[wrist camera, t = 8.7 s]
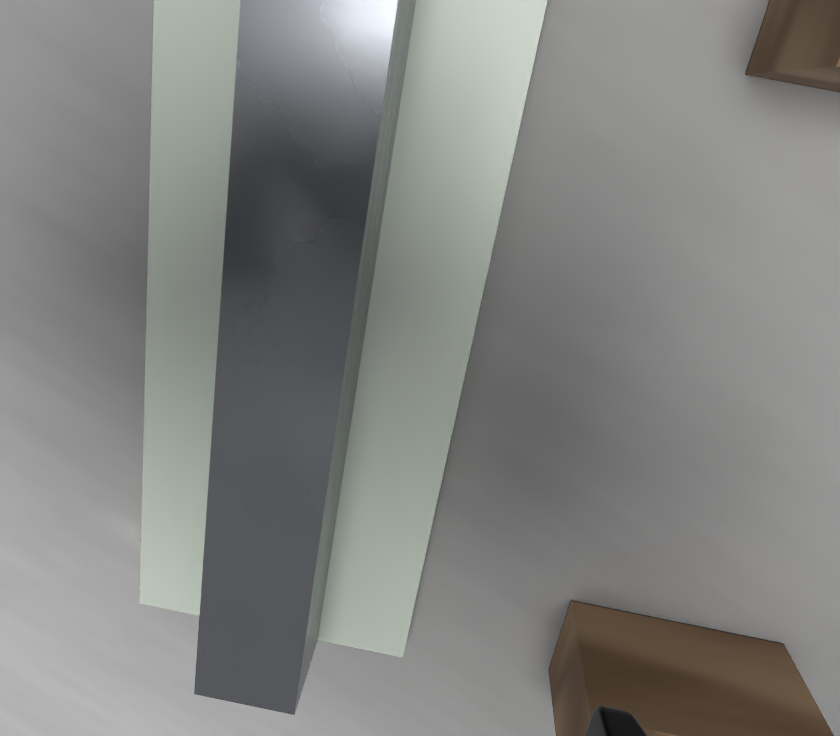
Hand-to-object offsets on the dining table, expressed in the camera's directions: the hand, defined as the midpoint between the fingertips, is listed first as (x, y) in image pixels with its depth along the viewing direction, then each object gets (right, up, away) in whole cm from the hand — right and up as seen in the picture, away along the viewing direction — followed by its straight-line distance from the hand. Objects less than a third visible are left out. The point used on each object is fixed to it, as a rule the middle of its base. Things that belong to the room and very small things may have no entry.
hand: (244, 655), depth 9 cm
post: (+10, -6, +14) cm, 18 cm away
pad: (-1, +6, +10) cm, 12 cm away
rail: (-1, +5, +10) cm, 11 cm away
